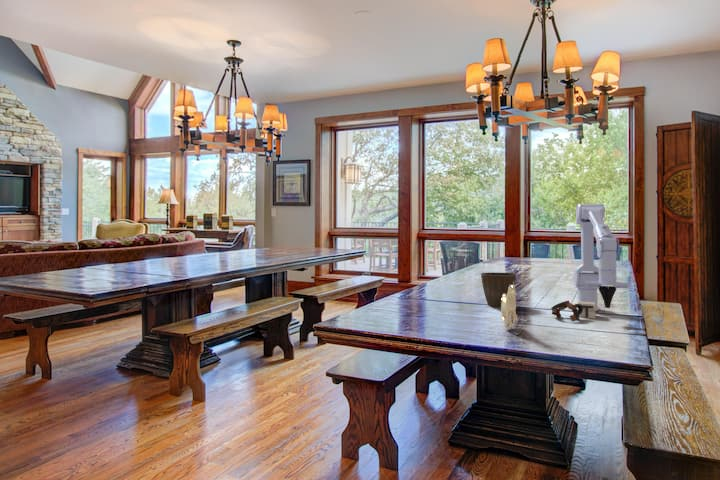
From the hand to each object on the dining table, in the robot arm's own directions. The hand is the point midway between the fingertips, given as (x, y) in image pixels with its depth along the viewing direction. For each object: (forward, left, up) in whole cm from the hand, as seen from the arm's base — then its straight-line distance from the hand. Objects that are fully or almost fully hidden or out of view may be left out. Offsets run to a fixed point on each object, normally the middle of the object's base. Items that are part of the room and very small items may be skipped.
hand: (607, 307), depth 178 cm
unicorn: (+27, -28, -6) cm, 39 cm away
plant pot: (-12, -45, -6) cm, 47 cm away
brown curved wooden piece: (-1, -12, -7) cm, 14 cm away
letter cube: (-11, -9, -6) cm, 15 cm away
